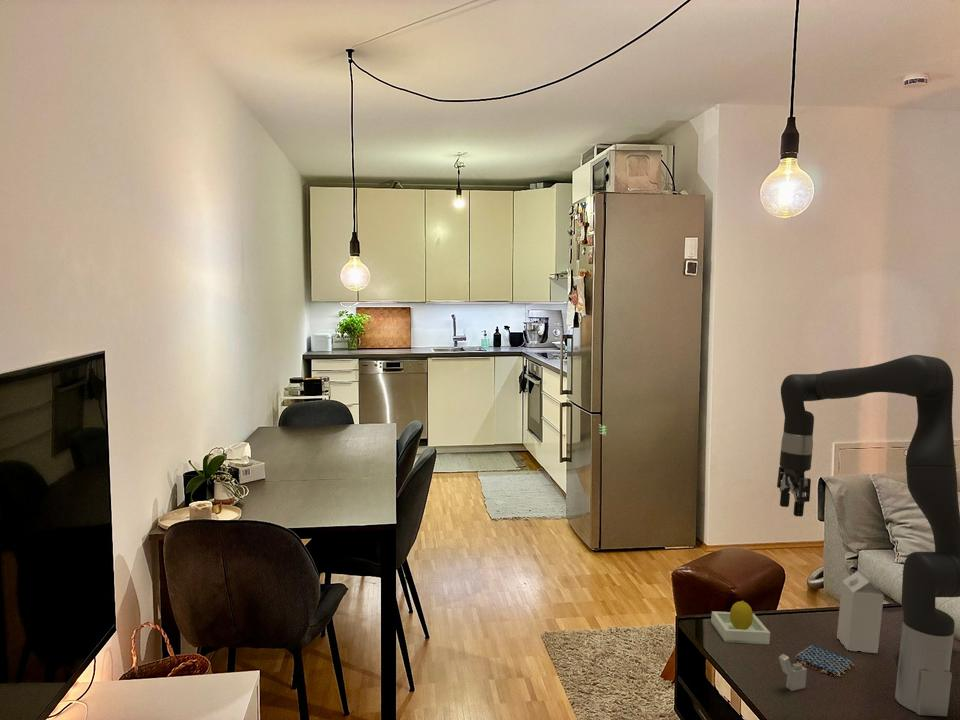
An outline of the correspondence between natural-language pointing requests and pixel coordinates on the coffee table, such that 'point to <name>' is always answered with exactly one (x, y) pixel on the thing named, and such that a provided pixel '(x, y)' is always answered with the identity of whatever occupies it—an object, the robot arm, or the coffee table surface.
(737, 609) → the lemon
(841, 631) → the milk carton
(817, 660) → the woven mat
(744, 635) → the tray
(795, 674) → the lighter
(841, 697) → the coffee table surface
